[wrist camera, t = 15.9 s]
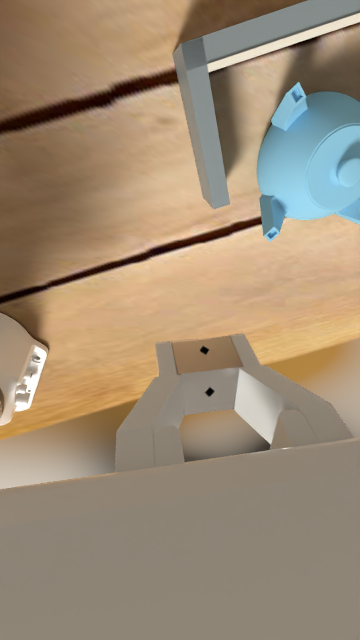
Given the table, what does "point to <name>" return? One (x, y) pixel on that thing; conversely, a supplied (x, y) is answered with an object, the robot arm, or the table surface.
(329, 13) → the bracket
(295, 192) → the teapot
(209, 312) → the table surface
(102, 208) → the table surface
